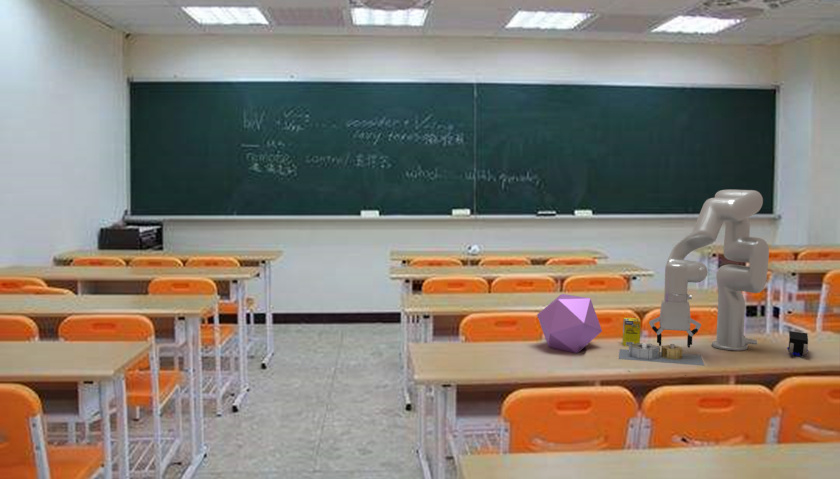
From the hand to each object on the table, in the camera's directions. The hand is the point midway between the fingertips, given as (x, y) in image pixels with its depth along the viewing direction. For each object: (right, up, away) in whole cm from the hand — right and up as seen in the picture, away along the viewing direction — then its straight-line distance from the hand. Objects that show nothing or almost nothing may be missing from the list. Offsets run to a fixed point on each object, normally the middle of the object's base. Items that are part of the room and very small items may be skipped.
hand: (674, 345), depth 256 cm
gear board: (-5, -5, 0) cm, 7 cm away
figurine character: (+49, -5, +10) cm, 50 cm away
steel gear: (-10, -4, +1) cm, 11 cm away
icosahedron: (-34, -4, +17) cm, 38 cm away
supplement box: (-10, -4, +19) cm, 22 cm away
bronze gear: (-1, -4, 0) cm, 4 cm away
